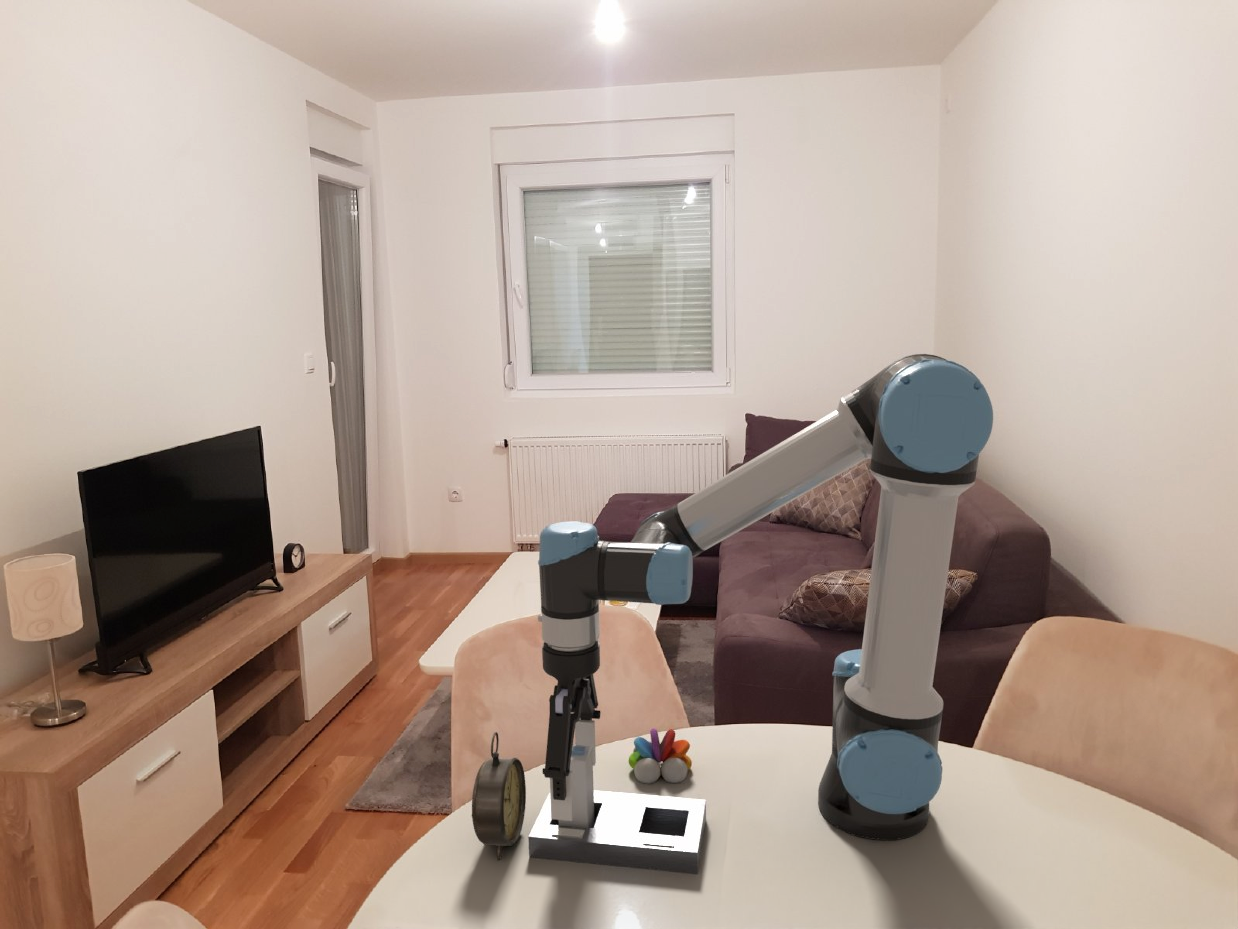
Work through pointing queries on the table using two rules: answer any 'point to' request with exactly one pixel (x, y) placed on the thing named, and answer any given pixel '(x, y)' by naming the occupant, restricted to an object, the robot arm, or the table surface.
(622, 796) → the panel
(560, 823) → the plug
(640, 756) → the rainbow petal toy
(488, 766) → the alarm clock
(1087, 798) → the table surface
